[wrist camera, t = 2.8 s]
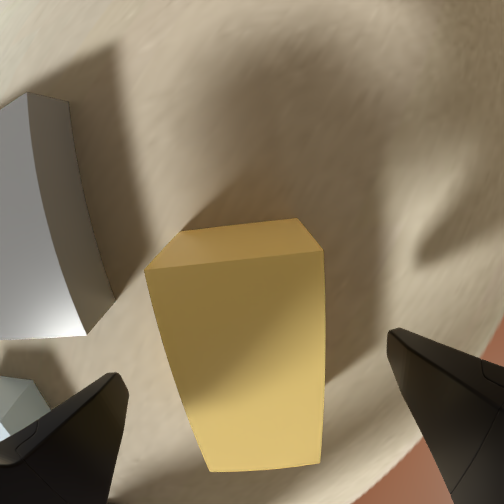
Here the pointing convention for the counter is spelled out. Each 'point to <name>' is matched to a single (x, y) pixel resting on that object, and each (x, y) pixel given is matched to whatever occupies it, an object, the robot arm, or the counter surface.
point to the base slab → (45, 227)
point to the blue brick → (19, 405)
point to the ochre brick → (246, 340)
